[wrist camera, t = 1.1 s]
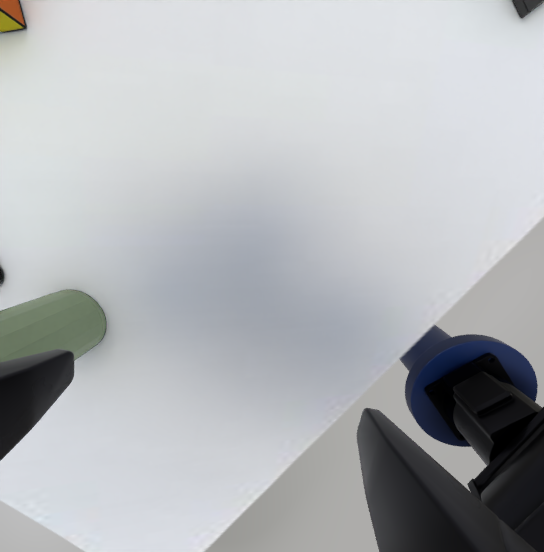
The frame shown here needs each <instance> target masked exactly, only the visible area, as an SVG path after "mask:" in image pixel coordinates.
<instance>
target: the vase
mask: <svg viewBox="0 0 544 552" xmlns="http://www.w3.org/2000/svg"><path fill="white" fill-rule="evenodd" d="M105 330H106V320H105V316H104V313H103V311H102V309H101V308H100V306H99V305H98V303H97V302H96V301H95V300H94V299H92V298H91V297H90V296H88V295H87V294H84V293H82V292H79V291H76V290H62V291H59V292H56V293H52V294H49V295H46V296H43V297H40V298H37V299H34V300H31V301H28V302H25V303H22V304H19V305H17V306H14V307H11V308H8V309H5V310H2V311H0V362H4V361H8V360H12V359H16V358H21V357H25V356H29V355H33V354H38V353H42V352H46V351H50V350H55V349H64V350H69V351H72V352H73V353H74V360H76V359H77V358H79V357H80V356H81V355H83V354H84V353H86V352H87V351H89V350H90V349H91V348H93V347H94V346H95V345H97V344H98V343H99V342H100V341H101V340H102V338H103V336H104V334H105Z"/></svg>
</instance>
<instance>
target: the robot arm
mask: <svg viewBox="0 0 544 552" xmlns="http://www.w3.org/2000/svg"><path fill="white" fill-rule="evenodd" d="M489 358H491V359H490V360H489ZM73 377H74V353H73V352H72V351H69V350H64V349H55V350H50V351H46V352H42V353H38V354H33V355H29V356H25V357H21V358H16V359H12V360H8V361H4V362H0V461H1V460H2V459H3V458H4V457H5V456H6V455H7V454H8V453H9V452H10V451H11V450H12V449H13V448H14V447H15V446H16V445H17V444H18V443H19V442H20V441H21V439H22V438H23V437H24V436H25V435H26V434H27V433H28V432H29V431H30V430H31V429H32V428H33V427H34V426H35V425H36V423H37V422H38V421H39V420H40V419H41V418H42V416H43V415H44V414H45V413H46V412H47V410H48V409H49V408H50V407H51V406H52V405H53V403H54V402H55V401H56V400H57V399H58V398H59V396H60V395H61V394H62V393H63V392H64V390H65V389H66V388H67V387H68V386H69V385H70V383H71V382H72V380H73ZM430 390H433V391H431V392H430ZM424 391H425V393H426V395H427V396H428V398H429V399H430V400H431V402H432V403H433V405H434V406H435V408H436V409H437V411H438V412H439V413H440V415H441V416H442V418H443V419H444V421H445V422H446V424H447V425H448V426H449V428H450V429H451V431H452V432H453V434H454V435H455V437H456V438H457V439H458V440H460V441H464V440H467V441H468V443H469V444H470V445H471V446H472V447H473V449H474V450H475V451H476V453H477V454H478V455H479V456H480V458H481V459H482V460H483V461H484V462H485V464H486V465H487V467H486V468H485V469H484V470H483V471H482V472H481V473H480V474H479V475H478V476H477V477H476V478H475V479H472V480H471V481H470V482H469V483H468V487H469V489H470V491H471V492H470V491H468V490H467V489H466V488H465V487H464V486H463V485H462V484H461V483H460V482H459V481H457V480H456V479H455V478H454V477H453V476H452V475H451V474H450V473H448V472H447V471H446V470H445V469H444V468H443V467H442V466H441V465H440V464H438V463H437V462H436V461H435V460H434V459H433V458H432V457H431V456H430V455H428V454H427V453H426V452H425V451H424V450H423V449H422V448H421V447H420V446H418V445H417V444H416V443H415V442H414V441H412V439H411V438H409V437H408V436H407V435H406V434H405V433H404V432H402V430H401V429H399V428H398V427H397V426H396V425H395V424H394V423H393V422H391V421H390V420H389V419H388V418H387V417H386V416H385V415H383V413H381V412H380V411H379V410H375V409H370V408H366V409H364V411H363V413H362V416H361V420H360V423H359V426H358V430H357V443H358V449H359V455H360V463H361V470H362V476H363V483H364V489H365V494H366V499H367V504H368V508H369V512H370V516H371V520H372V524H373V528H374V532H375V536H376V540H377V544H378V548H379V552H544V407H543V408H542V407H541V406H539V405H538V404H536V403H535V402H534V401H533V400H531V399H530V398H529V397H527V396H526V395H525V394H523V393H522V392H521V391H519V390H518V389H517V388H516V387H515V385H514V384H513V382H512V381H511V379H510V377H509V376H508V374H507V372H506V371H505V369H504V368H503V366H502V364H501V363H500V361H499V359H498V358H497V357H496V356H495V355H494V354H492V353H485V354H483V355H481V356H480V357H478V358H476V359H474V360H472V361H470V362H469V363H467V364H465V365H463V366H461V367H460V368H458V369H456V370H454V371H452V372H451V373H449V374H447V375H445V376H443V377H441V378H440V379H438V380H436V381H434V382H432V383H431V384H429V385H427V386H426V387H425V388H424Z"/></svg>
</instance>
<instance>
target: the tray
mask: <svg viewBox="0 0 544 552" xmlns="http://www.w3.org/2000/svg"><path fill="white" fill-rule="evenodd" d="M513 1H514V4H515V6H516V8H517V10H518V12H519V14H520V16H521V18H523V17H524V16H526V15H527V14H528V13H530V12H531V11H532V10H534V9H535V8H536V7H538V6H539V5H540V4H542V3H543V2H544V0H513Z"/></svg>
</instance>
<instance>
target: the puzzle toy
mask: <svg viewBox="0 0 544 552" xmlns="http://www.w3.org/2000/svg"><path fill="white" fill-rule="evenodd" d="M25 28H26V25H25V22H24V18H23V14H22V10H21V6H20V2H19V0H0V32H8V31H14V30H19V29H25Z"/></svg>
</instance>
